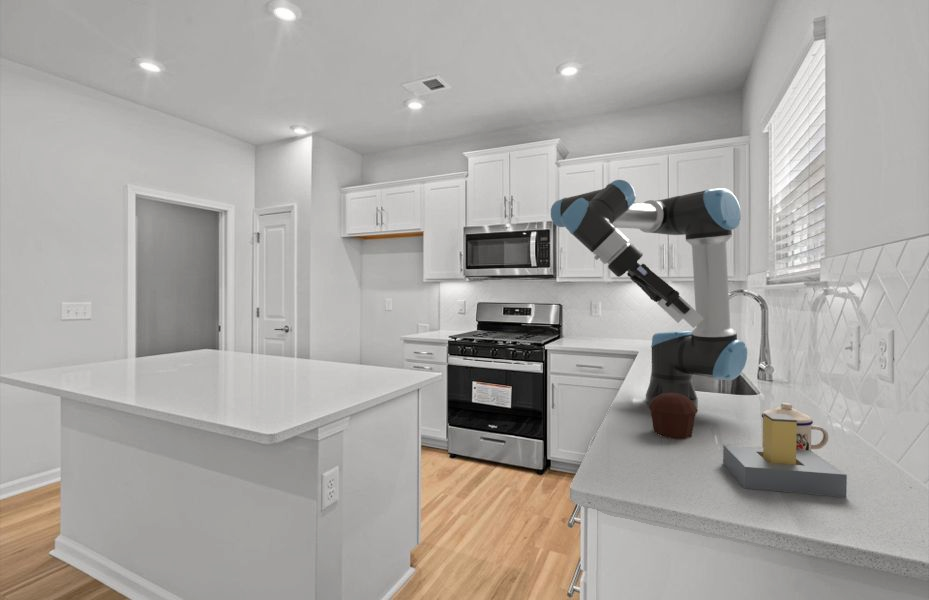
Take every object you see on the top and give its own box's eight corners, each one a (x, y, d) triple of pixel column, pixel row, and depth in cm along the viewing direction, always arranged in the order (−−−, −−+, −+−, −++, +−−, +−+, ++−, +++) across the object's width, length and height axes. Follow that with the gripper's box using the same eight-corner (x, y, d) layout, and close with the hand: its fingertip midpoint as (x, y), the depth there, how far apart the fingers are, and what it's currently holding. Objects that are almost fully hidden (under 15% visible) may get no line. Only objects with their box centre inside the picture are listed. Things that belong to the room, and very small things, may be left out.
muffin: (670, 443, 107) (670, 401, 107) (638, 429, 117) (638, 391, 117) (708, 437, 111) (708, 397, 110) (674, 424, 121) (674, 387, 121)
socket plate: (723, 463, 94) (723, 444, 94) (810, 470, 90) (811, 450, 90) (744, 488, 82) (745, 466, 82) (846, 497, 79) (846, 474, 79)
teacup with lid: (767, 461, 95) (768, 407, 95) (756, 447, 104) (756, 397, 103) (836, 469, 91) (837, 412, 91) (819, 453, 99) (820, 401, 99)
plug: (762, 468, 89) (763, 413, 89) (785, 469, 88) (786, 414, 88) (771, 476, 85) (772, 418, 85) (795, 478, 84) (796, 420, 84)
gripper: (602, 268, 114) (665, 327, 111) (611, 262, 90) (691, 338, 87) (624, 247, 113) (688, 306, 110) (639, 235, 89) (721, 311, 86)
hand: (690, 321), depth 99 cm, fingers open, 13 cm apart
